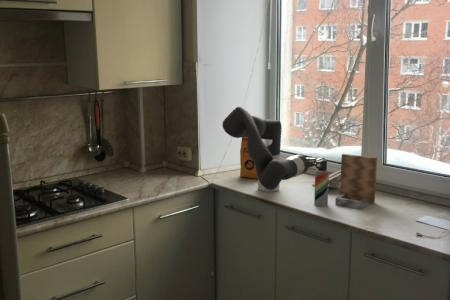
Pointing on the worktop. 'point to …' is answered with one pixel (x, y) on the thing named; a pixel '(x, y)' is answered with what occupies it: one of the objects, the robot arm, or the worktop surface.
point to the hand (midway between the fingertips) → (313, 158)
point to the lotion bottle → (321, 186)
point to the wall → (333, 179)
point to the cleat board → (357, 181)
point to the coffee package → (246, 162)
